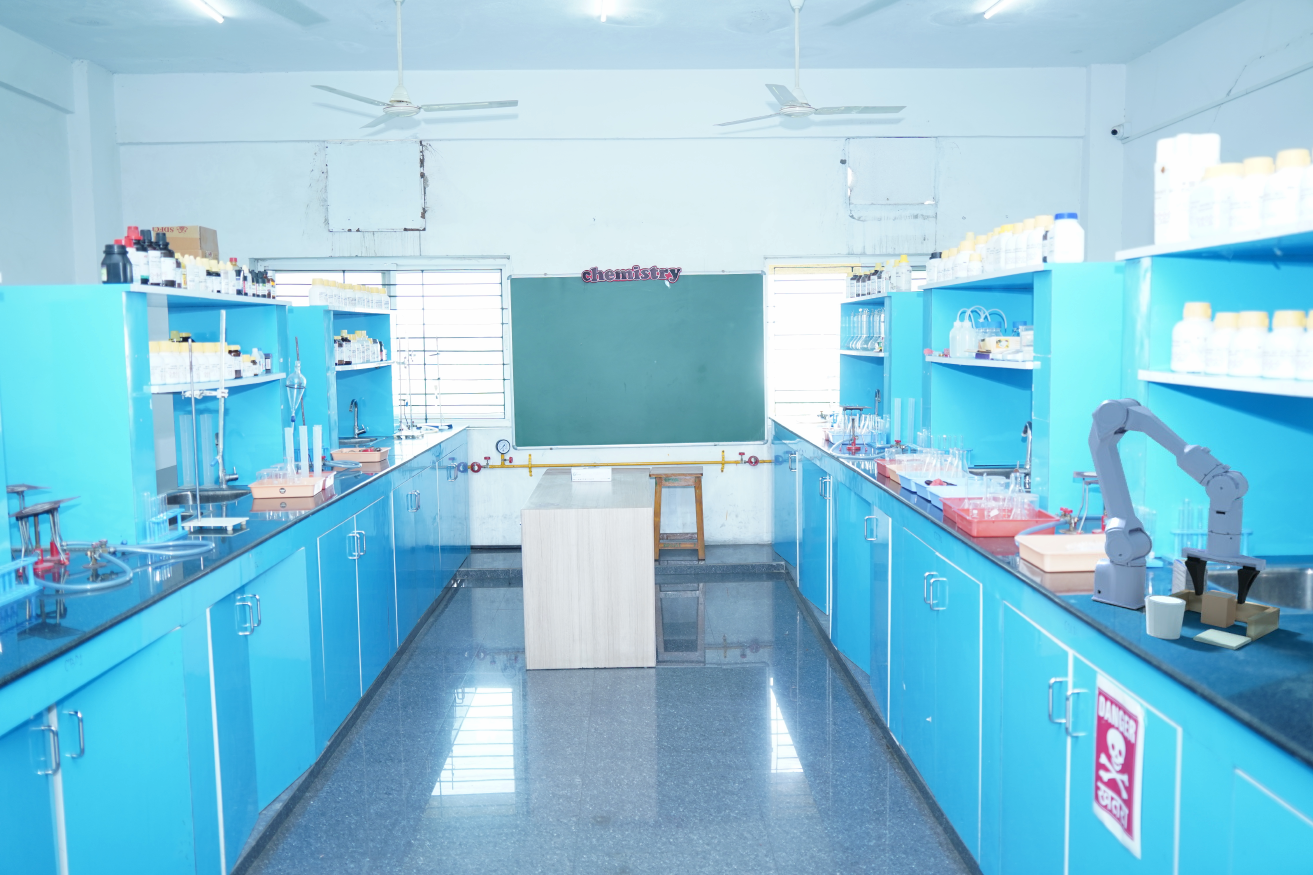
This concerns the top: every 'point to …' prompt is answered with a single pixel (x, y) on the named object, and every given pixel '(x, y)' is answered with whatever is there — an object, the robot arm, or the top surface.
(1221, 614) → the terracotta block
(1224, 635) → the rubber mat
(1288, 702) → the top surface
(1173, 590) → the medicine box
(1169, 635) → the white cup
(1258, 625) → the birch pen
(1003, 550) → the top surface
